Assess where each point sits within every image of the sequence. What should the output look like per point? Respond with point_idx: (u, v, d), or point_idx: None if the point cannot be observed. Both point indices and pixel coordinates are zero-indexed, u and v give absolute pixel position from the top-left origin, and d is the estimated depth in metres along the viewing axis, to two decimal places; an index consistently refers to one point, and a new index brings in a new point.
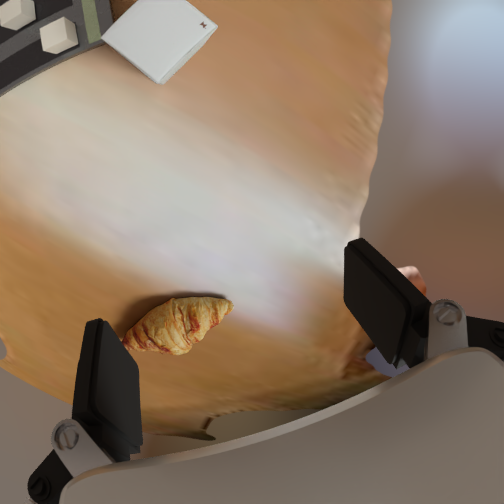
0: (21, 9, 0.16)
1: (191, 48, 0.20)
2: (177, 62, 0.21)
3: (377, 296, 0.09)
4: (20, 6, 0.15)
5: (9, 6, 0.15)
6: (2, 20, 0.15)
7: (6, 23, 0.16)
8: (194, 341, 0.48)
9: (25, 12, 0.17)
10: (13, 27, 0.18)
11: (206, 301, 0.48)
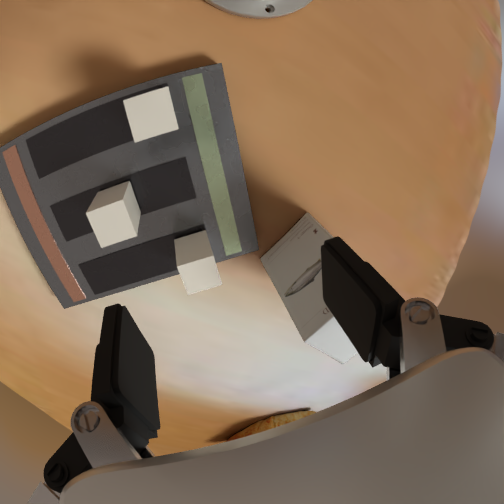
0: (134, 227, 0.21)
1: None
2: None
3: (350, 294, 0.09)
4: (130, 223, 0.20)
5: (108, 218, 0.20)
6: (101, 239, 0.20)
7: None
8: None
9: (136, 224, 0.22)
10: None
11: (299, 417, 0.53)
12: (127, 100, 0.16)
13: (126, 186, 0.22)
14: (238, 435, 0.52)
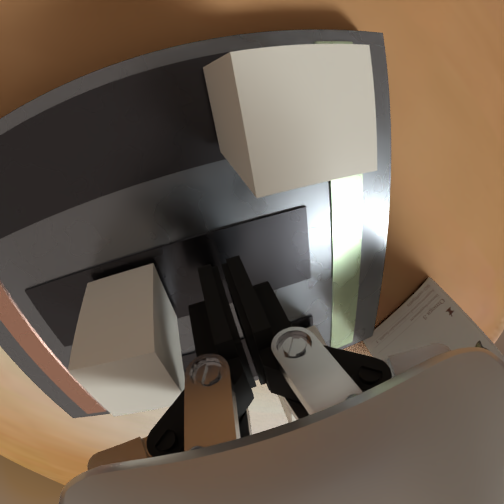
0: (181, 388, 0.09)
1: None
2: None
3: (238, 316, 0.10)
4: (175, 385, 0.09)
5: (122, 381, 0.08)
6: (111, 407, 0.09)
7: None
8: None
9: (180, 368, 0.10)
10: None
11: None
12: (246, 54, 0.05)
13: (150, 286, 0.10)
14: None
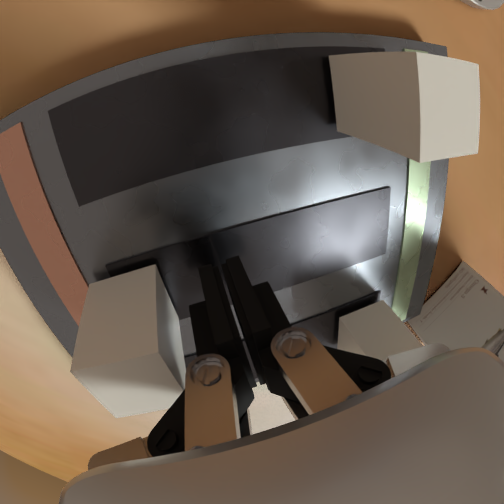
0: None
1: None
2: None
3: (237, 317, 0.10)
4: (178, 386, 0.09)
5: (125, 382, 0.08)
6: (113, 408, 0.09)
7: None
8: None
9: (183, 369, 0.10)
10: None
11: None
12: (423, 56, 0.05)
13: (152, 287, 0.10)
14: None
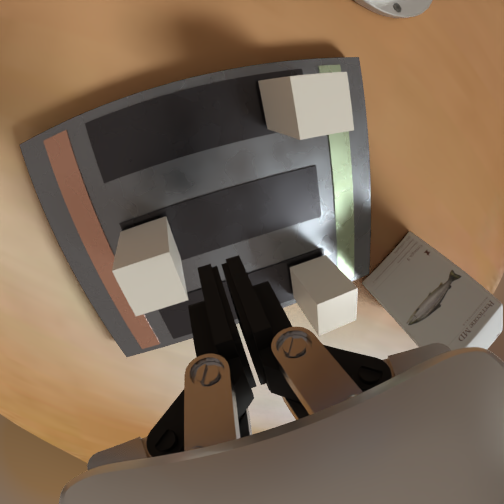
0: (184, 288, 0.15)
1: None
2: None
3: (238, 316, 0.10)
4: (180, 283, 0.15)
5: (146, 277, 0.14)
6: (135, 305, 0.15)
7: None
8: None
9: (183, 280, 0.16)
10: None
11: None
12: (295, 77, 0.11)
13: (165, 226, 0.16)
14: None
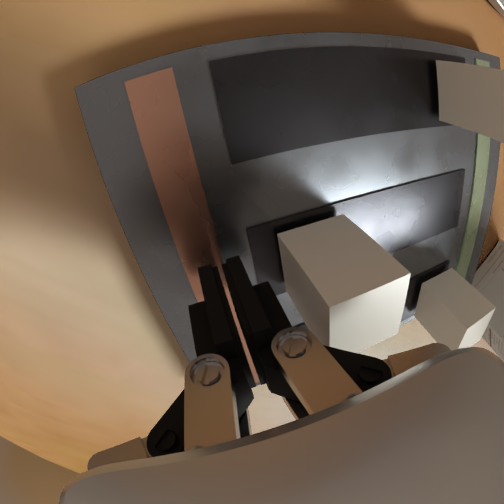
0: (397, 319, 0.10)
1: None
2: None
3: (238, 316, 0.10)
4: (399, 314, 0.10)
5: (370, 312, 0.09)
6: None
7: None
8: None
9: None
10: None
11: None
12: None
13: (359, 230, 0.11)
14: None
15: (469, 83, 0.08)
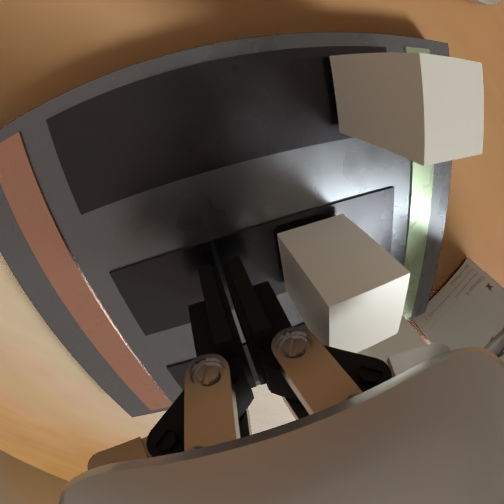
0: (397, 318, 0.10)
1: None
2: None
3: (238, 316, 0.10)
4: (399, 313, 0.10)
5: (370, 311, 0.09)
6: None
7: None
8: None
9: None
10: None
11: None
12: (427, 57, 0.05)
13: (359, 230, 0.11)
14: None
15: (364, 80, 0.08)
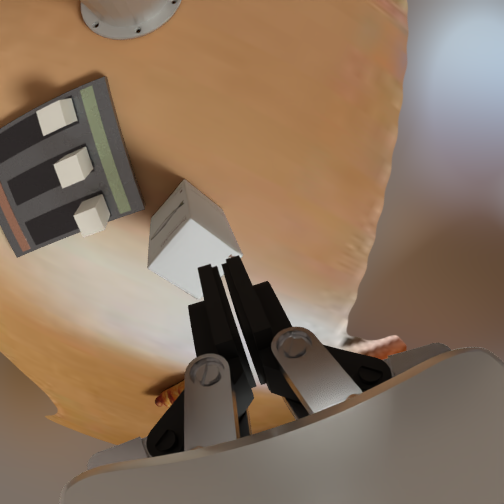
0: (83, 173, 0.28)
1: (222, 274, 0.32)
2: None
3: (238, 316, 0.10)
4: (80, 170, 0.28)
5: (66, 167, 0.27)
6: (62, 182, 0.28)
7: (68, 185, 0.28)
8: None
9: (86, 172, 0.29)
10: None
11: None
12: (38, 111, 0.23)
13: (82, 149, 0.29)
14: (172, 388, 0.57)
15: None
